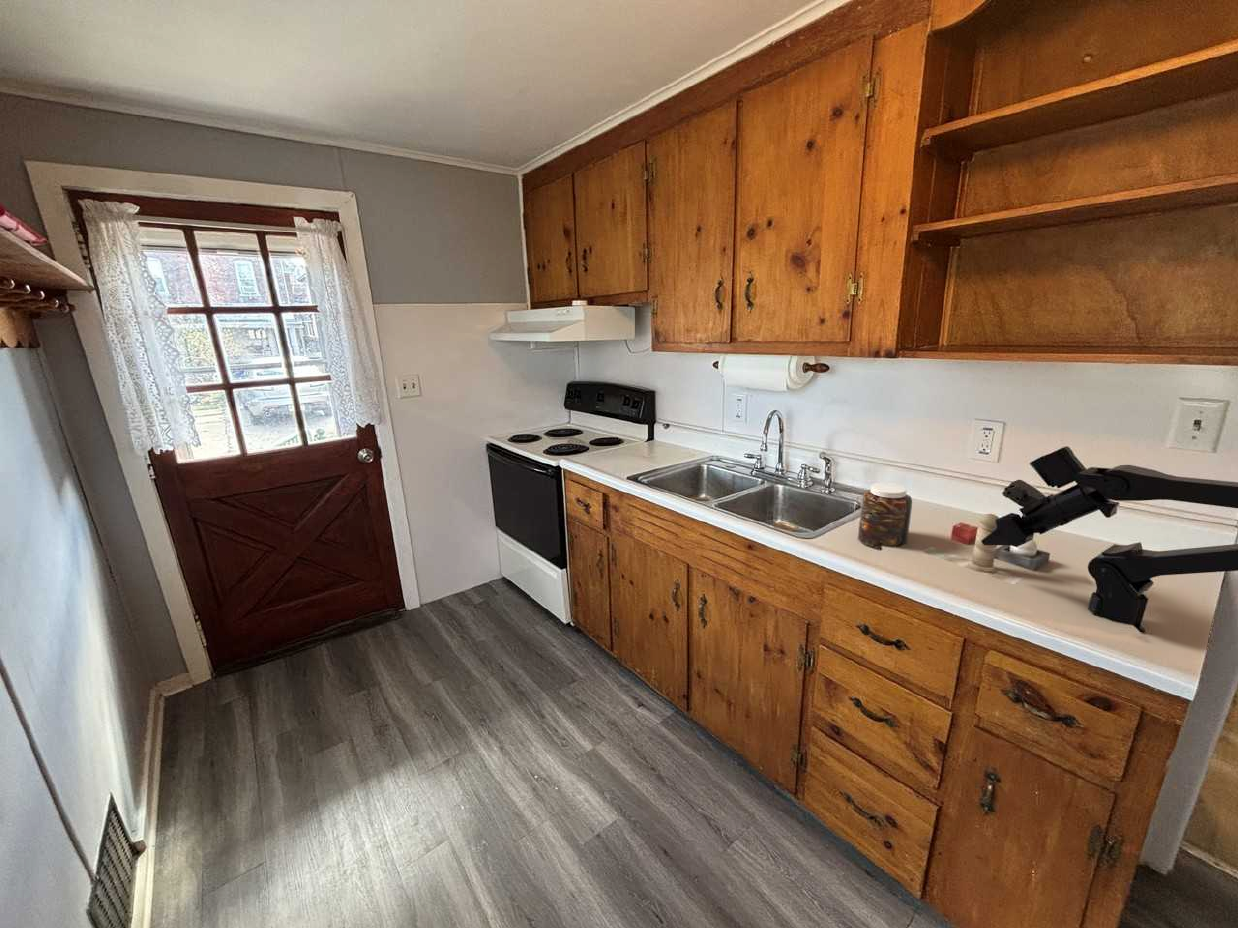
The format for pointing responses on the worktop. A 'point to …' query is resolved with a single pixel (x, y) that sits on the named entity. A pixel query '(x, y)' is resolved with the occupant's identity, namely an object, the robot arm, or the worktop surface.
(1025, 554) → the dome
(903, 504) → the jar
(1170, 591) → the worktop surface
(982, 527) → the pawn
